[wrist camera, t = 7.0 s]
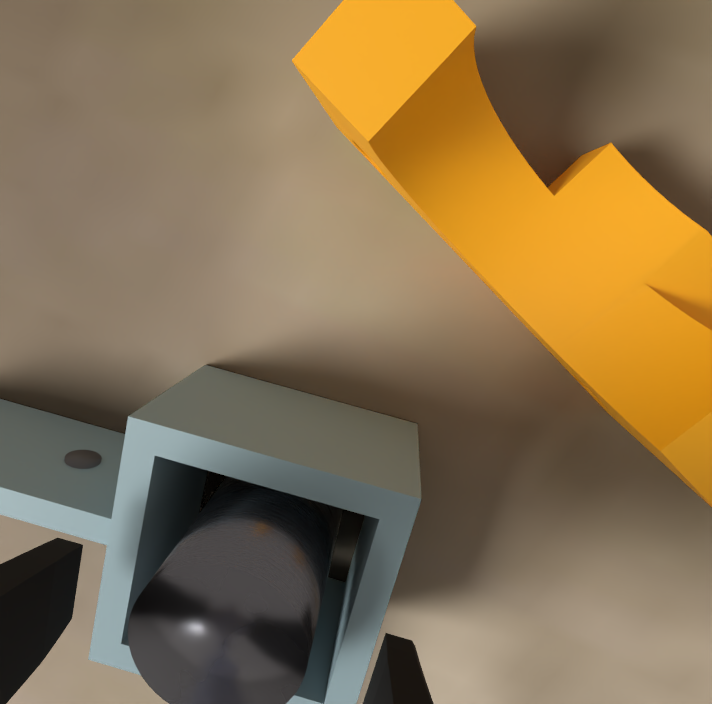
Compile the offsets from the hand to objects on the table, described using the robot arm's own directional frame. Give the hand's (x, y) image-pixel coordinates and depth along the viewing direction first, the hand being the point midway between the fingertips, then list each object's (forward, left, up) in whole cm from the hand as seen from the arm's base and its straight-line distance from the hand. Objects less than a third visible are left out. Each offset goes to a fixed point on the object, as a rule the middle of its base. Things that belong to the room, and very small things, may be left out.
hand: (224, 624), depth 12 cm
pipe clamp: (+10, -5, -7) cm, 14 cm away
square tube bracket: (-4, +4, -6) cm, 9 cm away
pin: (0, 0, -6) cm, 6 cm away
